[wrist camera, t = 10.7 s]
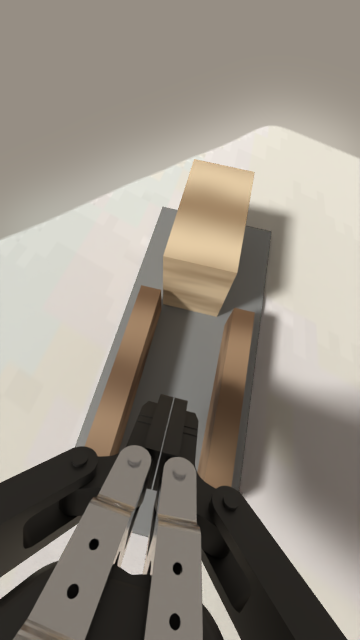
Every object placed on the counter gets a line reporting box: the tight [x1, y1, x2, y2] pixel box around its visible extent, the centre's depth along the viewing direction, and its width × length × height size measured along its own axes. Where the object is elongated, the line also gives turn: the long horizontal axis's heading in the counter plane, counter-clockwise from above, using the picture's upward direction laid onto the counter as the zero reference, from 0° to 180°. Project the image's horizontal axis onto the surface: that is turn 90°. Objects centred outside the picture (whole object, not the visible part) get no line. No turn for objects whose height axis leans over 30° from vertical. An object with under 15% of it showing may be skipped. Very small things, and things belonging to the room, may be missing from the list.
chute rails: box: [85, 285, 255, 488], centre depth 19 cm, size 14×9×4 cm, turn 166°
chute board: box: [75, 207, 271, 537], centre depth 23 cm, size 28×12×1 cm, turn 166°
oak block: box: [163, 159, 255, 317], centre depth 22 cm, size 10×5×7 cm, turn 167°
